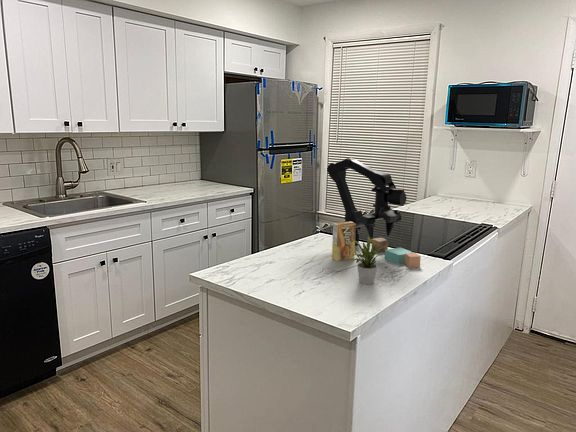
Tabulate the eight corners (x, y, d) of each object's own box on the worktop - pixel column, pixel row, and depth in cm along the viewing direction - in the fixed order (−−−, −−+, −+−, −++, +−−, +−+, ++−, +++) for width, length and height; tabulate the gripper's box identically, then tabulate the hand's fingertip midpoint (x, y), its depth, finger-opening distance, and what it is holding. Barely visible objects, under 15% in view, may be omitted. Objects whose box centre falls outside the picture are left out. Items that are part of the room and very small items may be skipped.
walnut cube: (378, 252, 193) (379, 241, 192) (371, 249, 198) (371, 238, 197) (387, 251, 196) (388, 240, 195) (380, 248, 200) (380, 237, 199)
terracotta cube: (408, 267, 174) (409, 256, 173) (404, 263, 179) (405, 253, 178) (419, 267, 175) (420, 256, 174) (415, 263, 179) (416, 252, 178)
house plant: (345, 273, 168) (346, 231, 164) (382, 274, 166) (384, 232, 163) (346, 287, 154) (347, 242, 150) (386, 288, 153) (388, 243, 149)
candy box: (349, 255, 189) (350, 220, 185) (354, 258, 185) (356, 223, 182) (331, 258, 185) (332, 223, 181) (337, 261, 181) (337, 225, 178)
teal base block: (398, 264, 178) (398, 255, 178) (384, 259, 185) (385, 249, 184) (412, 261, 182) (413, 252, 181) (399, 256, 189) (399, 247, 188)
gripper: (376, 207, 181) (374, 244, 184) (411, 203, 189) (408, 239, 193) (359, 203, 191) (358, 237, 194) (393, 199, 199) (391, 233, 202)
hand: (379, 237), depth 195 cm, fingers open, 9 cm apart
